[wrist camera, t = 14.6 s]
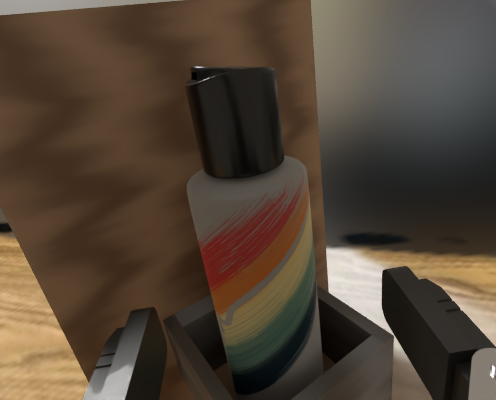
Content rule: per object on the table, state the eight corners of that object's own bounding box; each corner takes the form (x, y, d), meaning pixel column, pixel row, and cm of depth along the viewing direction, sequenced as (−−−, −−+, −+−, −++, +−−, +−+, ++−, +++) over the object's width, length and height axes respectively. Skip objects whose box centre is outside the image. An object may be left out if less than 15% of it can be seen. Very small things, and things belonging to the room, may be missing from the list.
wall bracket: (189, 658, 16) (-290, -90, 4) (122, 439, 26) (-80, 29, 14) (433, 398, 25) (490, -67, 13) (315, 310, 35) (289, -4, 23)
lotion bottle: (227, 370, 24) (152, 71, 16) (300, 342, 25) (267, 51, 17) (253, 452, 19) (162, 74, 11) (343, 412, 20) (324, 46, 12)
